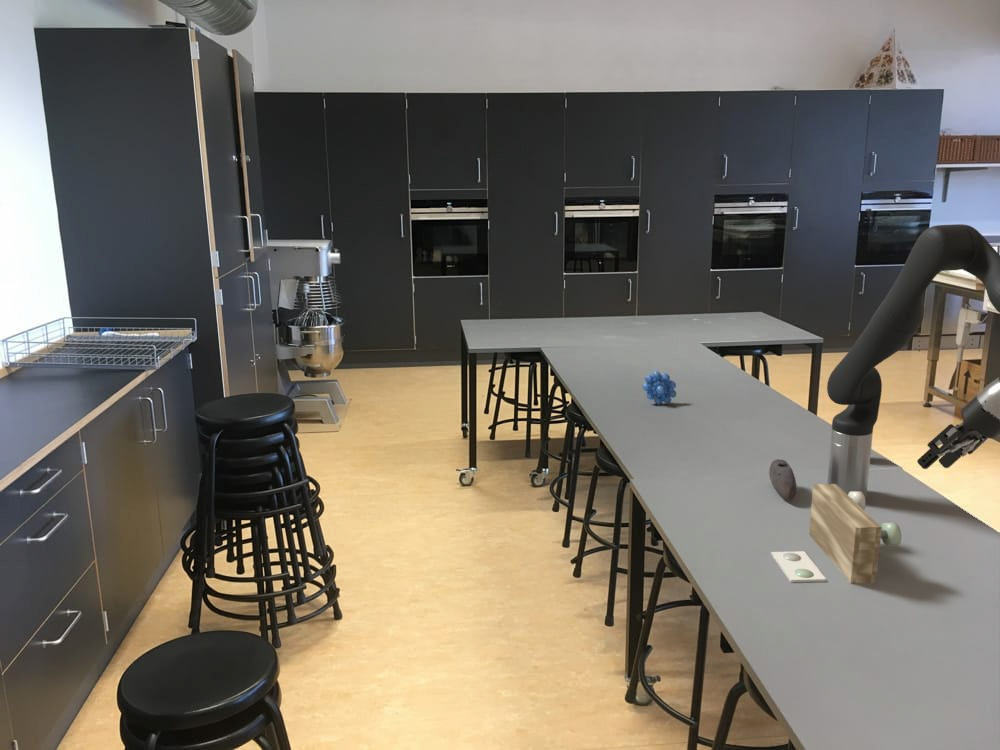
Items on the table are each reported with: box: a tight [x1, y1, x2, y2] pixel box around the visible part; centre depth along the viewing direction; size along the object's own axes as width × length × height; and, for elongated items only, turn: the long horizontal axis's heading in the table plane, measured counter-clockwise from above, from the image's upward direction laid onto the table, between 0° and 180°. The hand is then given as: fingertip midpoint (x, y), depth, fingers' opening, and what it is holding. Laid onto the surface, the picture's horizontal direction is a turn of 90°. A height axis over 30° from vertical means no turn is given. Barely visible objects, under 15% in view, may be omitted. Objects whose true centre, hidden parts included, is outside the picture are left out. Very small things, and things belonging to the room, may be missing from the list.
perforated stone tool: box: [768, 458, 797, 502], centre depth 203 cm, size 15×5×7 cm, turn 172°
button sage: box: [880, 522, 902, 546], centre depth 160 cm, size 6×4×4 cm
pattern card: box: [770, 550, 827, 583], centre depth 167 cm, size 12×7×1 cm, turn 0°
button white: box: [848, 491, 866, 511], centre depth 176 cm, size 6×4×4 cm
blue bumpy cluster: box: [642, 370, 677, 406], centre depth 278 cm, size 12×7×12 cm, turn 87°
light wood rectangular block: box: [808, 483, 882, 584], centre depth 169 cm, size 5×22×12 cm, turn 0°
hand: (931, 465), depth 158 cm, fingers open, 8 cm apart
